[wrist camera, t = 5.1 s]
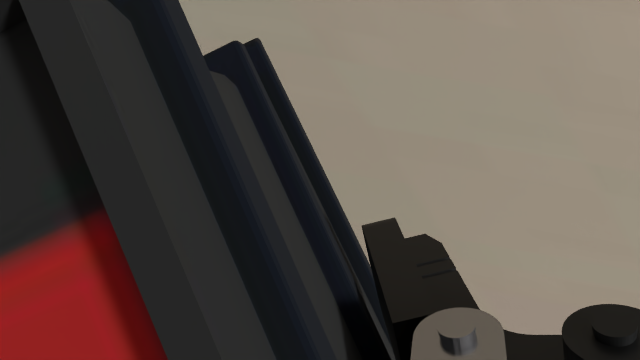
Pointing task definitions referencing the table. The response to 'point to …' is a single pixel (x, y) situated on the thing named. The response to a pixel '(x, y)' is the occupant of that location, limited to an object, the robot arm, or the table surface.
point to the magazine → (164, 199)
